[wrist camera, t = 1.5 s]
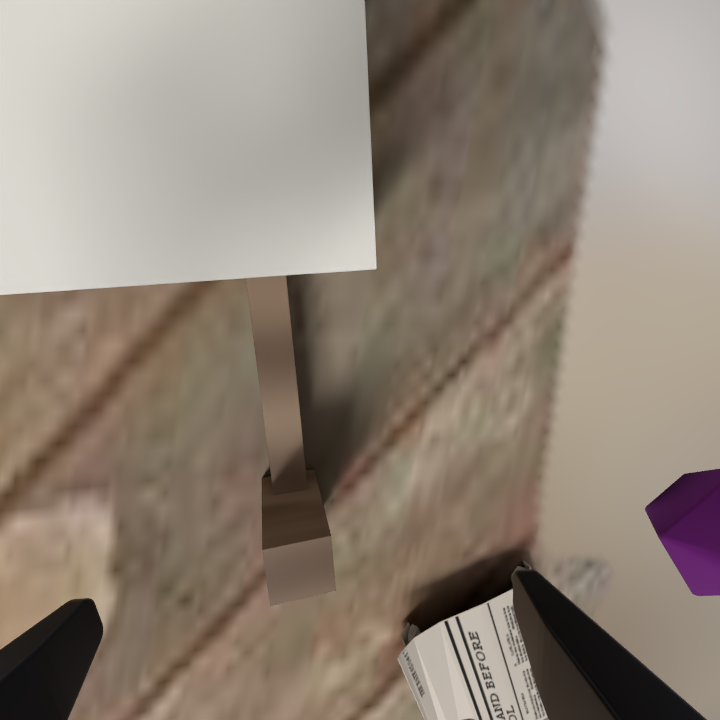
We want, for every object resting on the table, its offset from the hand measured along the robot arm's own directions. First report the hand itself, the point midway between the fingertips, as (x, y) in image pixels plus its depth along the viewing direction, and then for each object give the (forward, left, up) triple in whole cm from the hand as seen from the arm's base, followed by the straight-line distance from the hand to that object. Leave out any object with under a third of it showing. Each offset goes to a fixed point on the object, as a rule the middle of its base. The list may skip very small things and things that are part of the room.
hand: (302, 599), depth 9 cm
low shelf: (+11, +5, -14) cm, 19 cm away
